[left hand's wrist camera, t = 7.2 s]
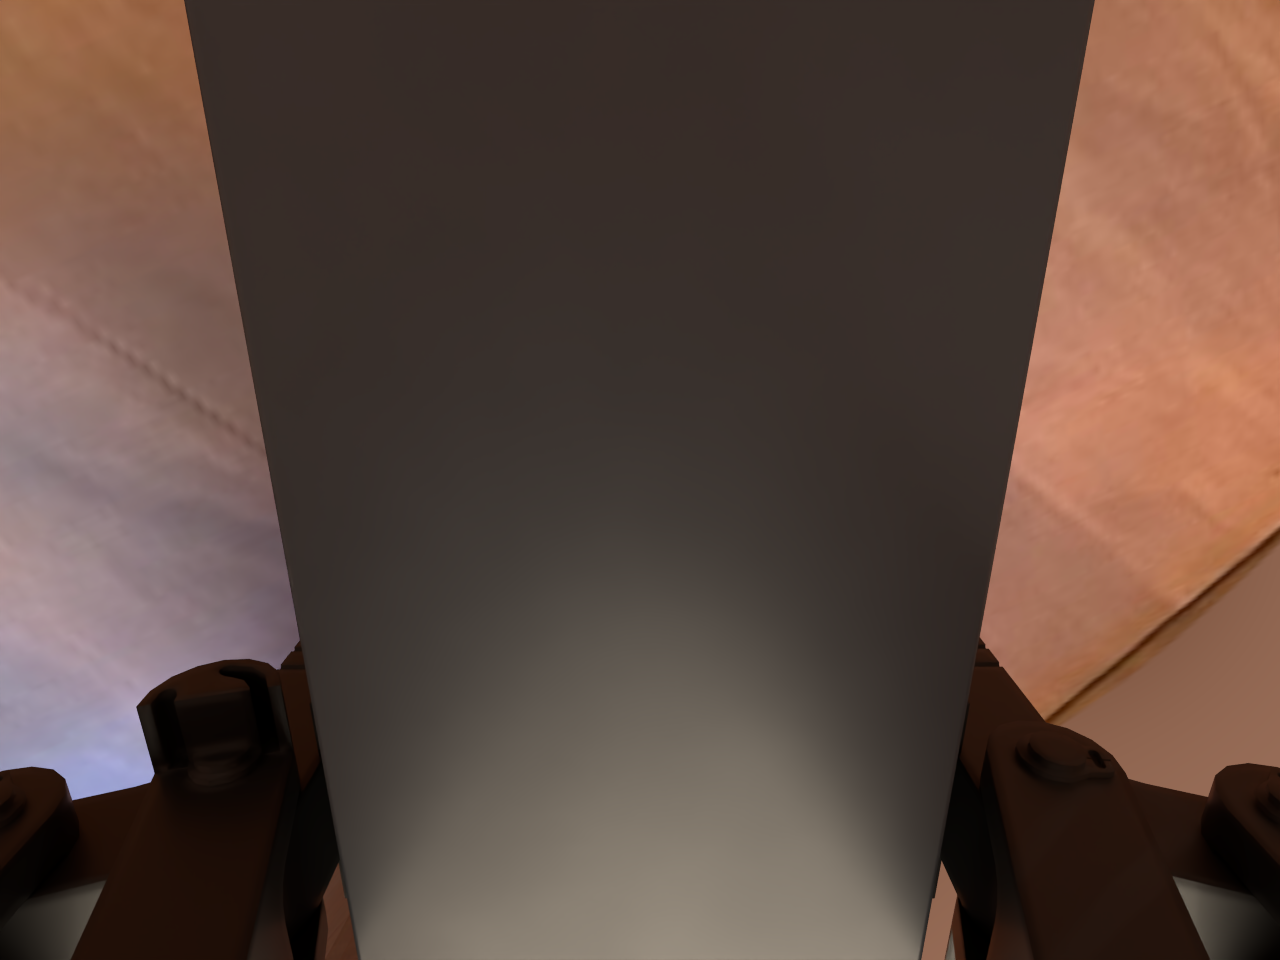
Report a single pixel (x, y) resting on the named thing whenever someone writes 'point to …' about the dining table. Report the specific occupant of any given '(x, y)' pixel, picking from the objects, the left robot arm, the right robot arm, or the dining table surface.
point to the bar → (639, 442)
